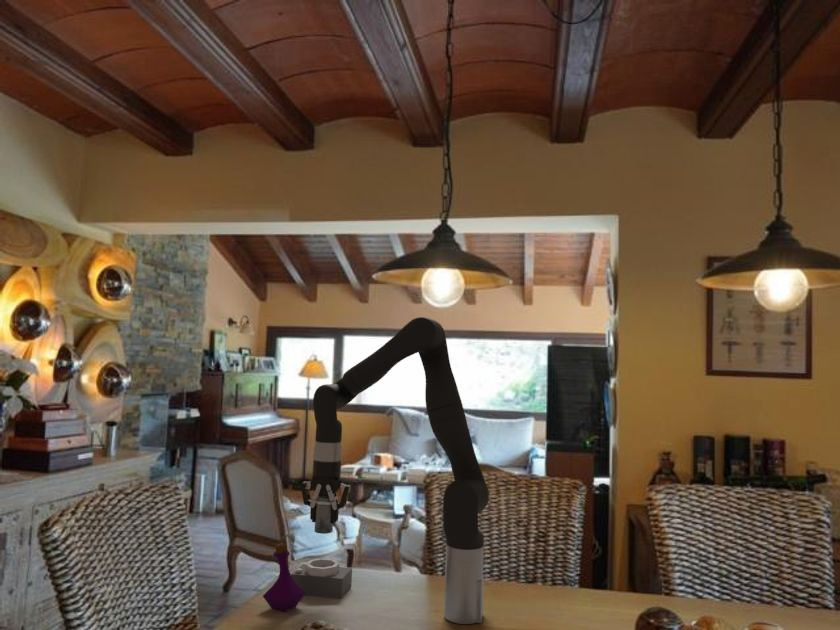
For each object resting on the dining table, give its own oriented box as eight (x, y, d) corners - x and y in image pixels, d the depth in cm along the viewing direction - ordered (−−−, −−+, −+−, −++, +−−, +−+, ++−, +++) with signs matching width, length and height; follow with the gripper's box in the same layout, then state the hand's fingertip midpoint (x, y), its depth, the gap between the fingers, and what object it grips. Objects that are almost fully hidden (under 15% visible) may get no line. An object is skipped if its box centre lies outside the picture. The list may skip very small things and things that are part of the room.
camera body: (351, 586, 173) (352, 560, 174) (341, 598, 164) (342, 570, 165) (302, 582, 176) (303, 556, 176) (290, 593, 167) (291, 566, 167)
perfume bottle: (261, 609, 155) (265, 534, 157) (281, 600, 162) (285, 528, 163) (285, 616, 152) (289, 539, 153) (305, 606, 159) (308, 532, 160)
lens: (335, 529, 172) (337, 495, 173) (329, 534, 168) (331, 499, 168) (317, 528, 173) (319, 493, 174) (311, 532, 168) (313, 497, 169)
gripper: (356, 458, 174) (353, 521, 173) (306, 454, 177) (303, 516, 176) (349, 462, 167) (345, 528, 166) (297, 458, 169) (293, 523, 168)
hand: (323, 522), depth 171 cm, fingers closed on lens, 4 cm apart
